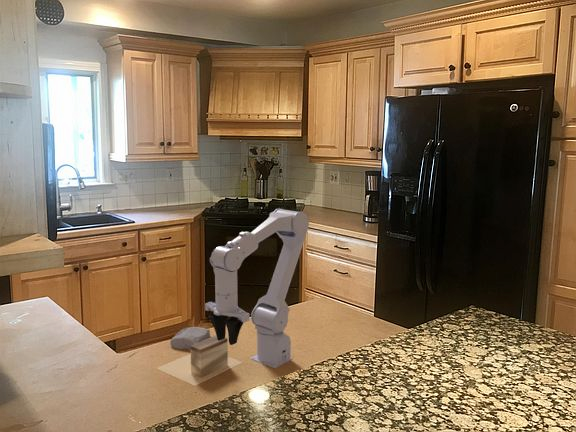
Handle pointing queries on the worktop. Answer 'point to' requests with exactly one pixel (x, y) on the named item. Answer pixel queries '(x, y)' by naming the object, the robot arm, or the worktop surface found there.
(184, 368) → the beige square board
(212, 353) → the maple block
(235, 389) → the worktop surface
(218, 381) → the worktop surface
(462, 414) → the worktop surface
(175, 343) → the stone block
